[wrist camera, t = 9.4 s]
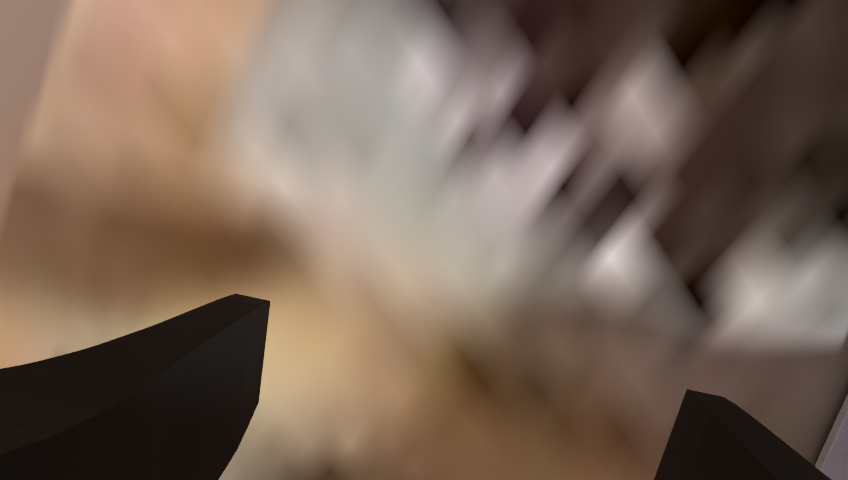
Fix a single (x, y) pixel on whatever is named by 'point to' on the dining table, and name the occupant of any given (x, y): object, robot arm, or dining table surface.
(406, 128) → the dining table surface
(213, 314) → the robot arm
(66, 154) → the dining table surface
